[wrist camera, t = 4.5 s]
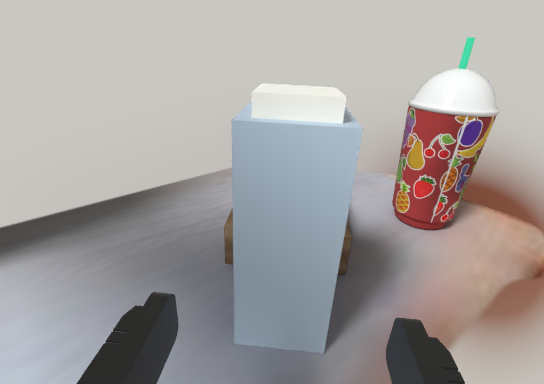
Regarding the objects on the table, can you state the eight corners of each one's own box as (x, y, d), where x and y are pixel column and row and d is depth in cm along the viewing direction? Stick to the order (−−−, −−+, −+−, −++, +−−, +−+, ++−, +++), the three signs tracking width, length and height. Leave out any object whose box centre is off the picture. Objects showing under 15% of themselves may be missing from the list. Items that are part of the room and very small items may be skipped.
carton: (323, 353, 20) (367, 100, 13) (234, 344, 20) (231, 93, 13) (318, 289, 25) (347, 86, 18) (248, 282, 26) (251, 81, 19)
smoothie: (472, 238, 34) (550, 38, 25) (399, 236, 33) (453, 33, 25) (434, 204, 41) (484, 41, 33) (374, 202, 41) (409, 37, 33)
